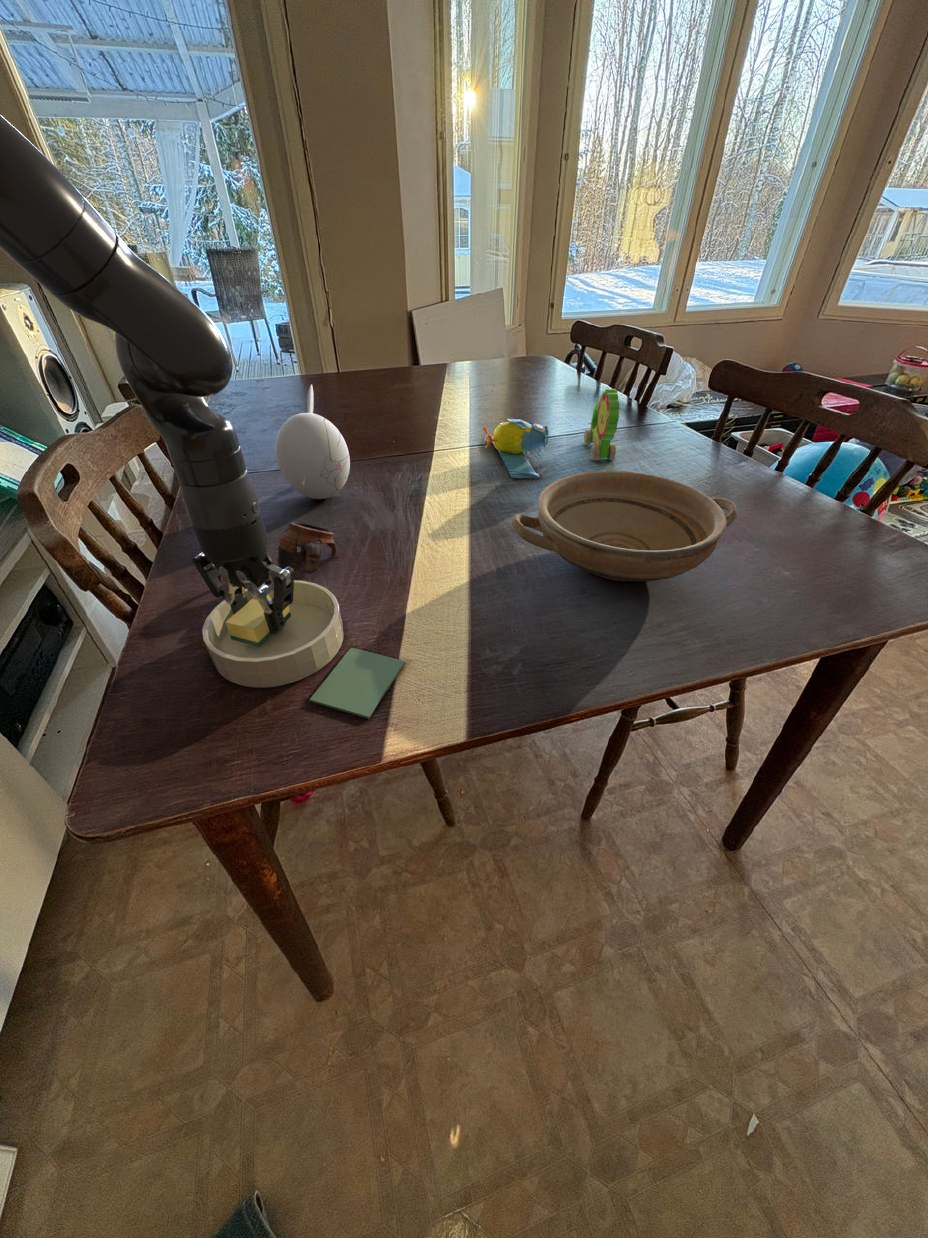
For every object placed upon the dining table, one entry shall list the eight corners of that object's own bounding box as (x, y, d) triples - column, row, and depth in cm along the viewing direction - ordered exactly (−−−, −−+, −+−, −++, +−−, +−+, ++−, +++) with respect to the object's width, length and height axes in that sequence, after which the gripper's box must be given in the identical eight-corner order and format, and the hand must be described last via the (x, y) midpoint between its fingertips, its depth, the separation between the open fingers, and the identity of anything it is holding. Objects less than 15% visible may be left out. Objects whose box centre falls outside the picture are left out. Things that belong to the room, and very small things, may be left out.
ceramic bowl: (532, 624, 73) (539, 565, 67) (491, 529, 95) (493, 477, 89) (769, 598, 78) (795, 540, 71) (677, 513, 100) (691, 463, 93)
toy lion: (581, 442, 130) (590, 378, 121) (602, 442, 130) (613, 378, 121) (593, 466, 118) (604, 397, 109) (617, 466, 118) (630, 397, 109)
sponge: (259, 647, 66) (253, 629, 64) (231, 639, 68) (224, 622, 66) (291, 616, 72) (286, 598, 70) (264, 609, 73) (259, 592, 71)
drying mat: (368, 719, 60) (368, 716, 59) (309, 701, 62) (309, 699, 61) (405, 663, 67) (404, 661, 67) (351, 649, 69) (351, 647, 69)
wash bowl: (297, 702, 62) (288, 675, 59) (184, 668, 66) (171, 642, 63) (365, 618, 74) (361, 593, 71) (267, 595, 79) (259, 570, 76)
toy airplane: (473, 402, 128) (532, 400, 130) (472, 437, 133) (528, 435, 135) (498, 441, 106) (568, 438, 108) (496, 480, 112) (562, 477, 114)
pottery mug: (267, 564, 87) (276, 516, 85) (321, 573, 92) (331, 528, 90) (284, 581, 77) (295, 528, 75) (343, 590, 82) (355, 540, 81)
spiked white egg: (329, 436, 88) (347, 378, 105) (251, 443, 89) (282, 384, 106) (355, 525, 102) (367, 461, 119) (287, 531, 102) (309, 466, 119)
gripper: (151, 515, 58) (199, 631, 69) (255, 537, 54) (290, 656, 65) (198, 489, 63) (237, 600, 74) (296, 507, 60) (322, 621, 70)
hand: (261, 625), depth 69 cm, fingers closed on sponge, 4 cm apart
